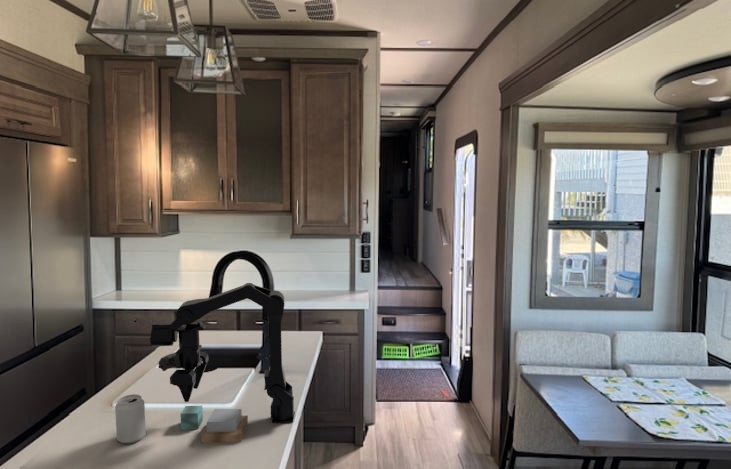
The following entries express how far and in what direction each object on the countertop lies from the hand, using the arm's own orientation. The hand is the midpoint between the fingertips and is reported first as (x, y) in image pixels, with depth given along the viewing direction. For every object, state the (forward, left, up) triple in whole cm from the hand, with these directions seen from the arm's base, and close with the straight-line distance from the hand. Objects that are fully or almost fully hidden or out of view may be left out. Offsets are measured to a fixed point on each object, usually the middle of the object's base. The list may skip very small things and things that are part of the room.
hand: (191, 394), depth 149 cm
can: (+15, +7, -10) cm, 19 cm away
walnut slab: (-11, +5, -10) cm, 16 cm away
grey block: (-11, +5, -7) cm, 14 cm away
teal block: (0, 0, -10) cm, 10 cm away
